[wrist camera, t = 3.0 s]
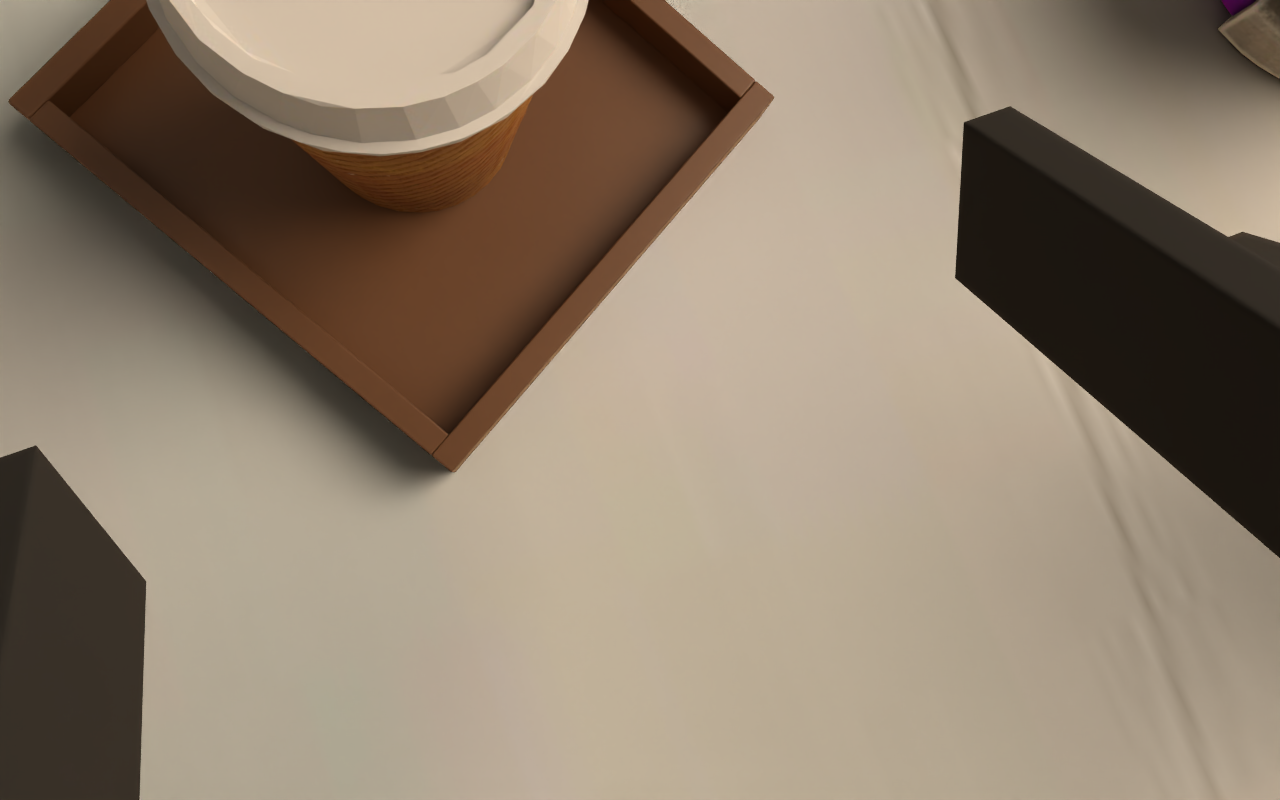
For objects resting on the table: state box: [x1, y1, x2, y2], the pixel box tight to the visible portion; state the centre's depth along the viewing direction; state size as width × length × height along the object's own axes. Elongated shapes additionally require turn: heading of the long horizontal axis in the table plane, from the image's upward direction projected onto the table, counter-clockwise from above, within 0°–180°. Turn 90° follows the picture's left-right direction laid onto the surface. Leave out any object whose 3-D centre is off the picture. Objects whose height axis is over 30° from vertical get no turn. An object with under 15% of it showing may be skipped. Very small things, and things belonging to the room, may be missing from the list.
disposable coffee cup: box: [146, 0, 588, 212], centre depth 26 cm, size 10×10×12 cm
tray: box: [8, 0, 774, 472], centre depth 31 cm, size 17×16×2 cm
